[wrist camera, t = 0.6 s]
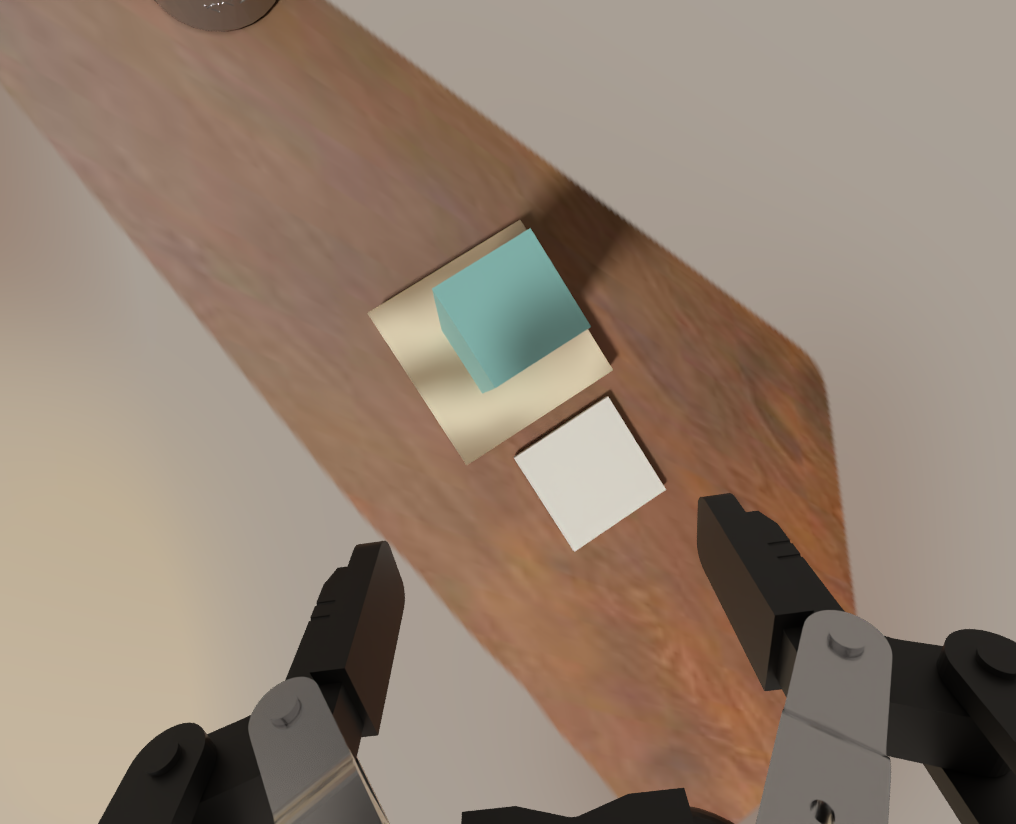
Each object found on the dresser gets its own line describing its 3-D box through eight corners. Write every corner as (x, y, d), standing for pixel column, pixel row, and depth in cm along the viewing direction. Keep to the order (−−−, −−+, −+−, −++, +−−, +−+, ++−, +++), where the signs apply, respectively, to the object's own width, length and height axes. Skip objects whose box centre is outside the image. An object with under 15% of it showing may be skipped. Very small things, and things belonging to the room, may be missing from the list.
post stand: (371, 317, 34) (350, 296, 27) (517, 227, 35) (531, 187, 28) (466, 462, 35) (467, 476, 28) (606, 371, 35) (639, 364, 29)
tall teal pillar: (441, 330, 33) (431, 288, 21) (504, 291, 33) (530, 228, 21) (482, 393, 33) (495, 388, 21) (543, 354, 33) (591, 326, 22)
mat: (513, 457, 35) (514, 457, 34) (605, 396, 35) (608, 396, 35) (572, 549, 35) (574, 551, 35) (663, 488, 36) (665, 489, 36)
